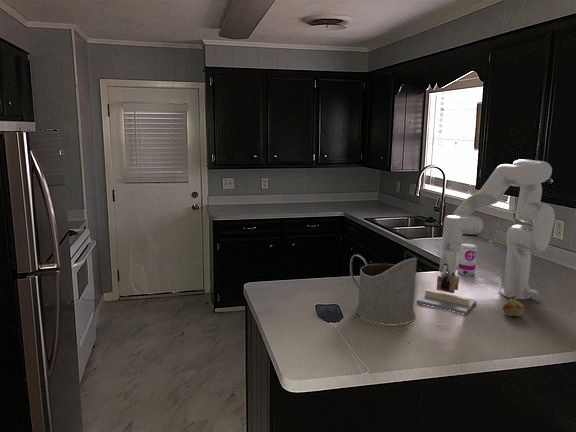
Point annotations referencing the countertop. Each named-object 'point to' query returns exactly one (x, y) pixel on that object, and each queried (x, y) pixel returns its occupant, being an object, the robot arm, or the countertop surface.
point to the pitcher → (386, 291)
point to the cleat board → (446, 301)
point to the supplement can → (467, 259)
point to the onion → (513, 307)
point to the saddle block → (453, 283)
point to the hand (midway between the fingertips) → (447, 286)
